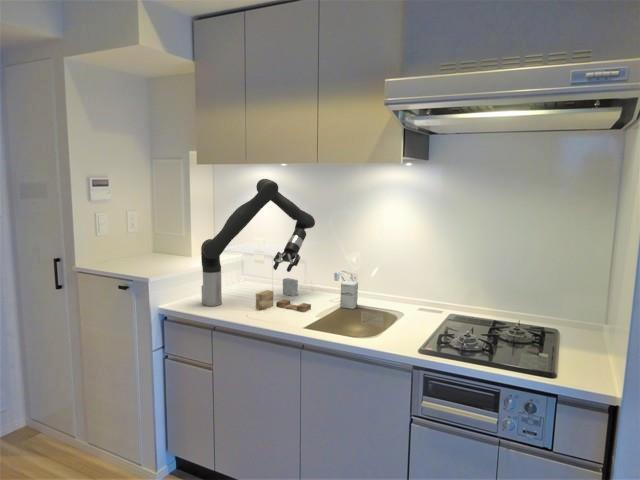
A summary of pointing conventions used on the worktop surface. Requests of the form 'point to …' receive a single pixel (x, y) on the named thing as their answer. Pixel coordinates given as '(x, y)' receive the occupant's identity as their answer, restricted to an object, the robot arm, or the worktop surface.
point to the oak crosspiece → (264, 300)
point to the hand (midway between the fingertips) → (281, 270)
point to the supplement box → (349, 294)
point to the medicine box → (290, 286)
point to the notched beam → (287, 305)
